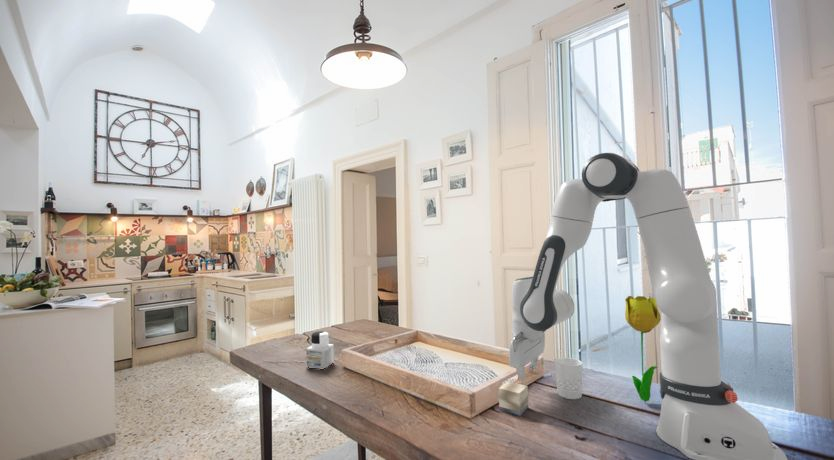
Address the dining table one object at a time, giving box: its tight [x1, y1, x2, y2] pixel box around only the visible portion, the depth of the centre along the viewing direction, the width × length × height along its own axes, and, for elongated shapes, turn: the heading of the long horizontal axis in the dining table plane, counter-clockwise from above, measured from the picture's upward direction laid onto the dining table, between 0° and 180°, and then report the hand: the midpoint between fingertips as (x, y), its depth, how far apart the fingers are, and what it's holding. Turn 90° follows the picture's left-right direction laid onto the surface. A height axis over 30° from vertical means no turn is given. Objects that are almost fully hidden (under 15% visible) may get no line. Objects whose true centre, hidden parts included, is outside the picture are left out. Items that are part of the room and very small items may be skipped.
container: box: [305, 330, 335, 369], centre depth 142 cm, size 8×8×13 cm
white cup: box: [553, 356, 583, 400], centre depth 110 cm, size 8×8×10 cm
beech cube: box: [498, 381, 529, 416], centre depth 102 cm, size 6×6×6 cm
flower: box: [624, 295, 661, 403], centre depth 104 cm, size 9×8×30 cm
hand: (528, 374), depth 112 cm, fingers open, 8 cm apart
